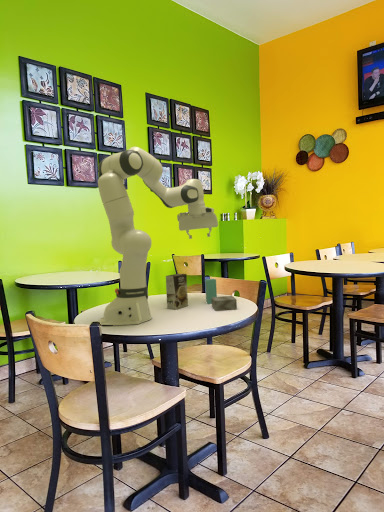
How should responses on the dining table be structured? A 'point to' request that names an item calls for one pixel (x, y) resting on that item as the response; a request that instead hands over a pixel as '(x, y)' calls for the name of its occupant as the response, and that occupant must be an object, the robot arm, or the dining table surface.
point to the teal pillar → (210, 289)
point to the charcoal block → (224, 303)
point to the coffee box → (176, 291)
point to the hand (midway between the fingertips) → (199, 237)
